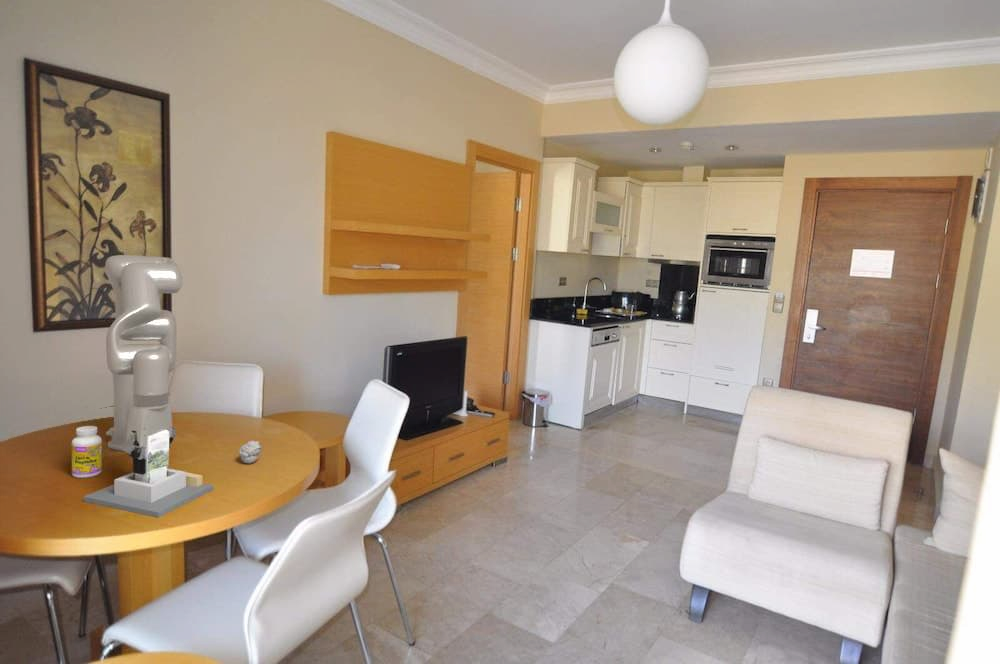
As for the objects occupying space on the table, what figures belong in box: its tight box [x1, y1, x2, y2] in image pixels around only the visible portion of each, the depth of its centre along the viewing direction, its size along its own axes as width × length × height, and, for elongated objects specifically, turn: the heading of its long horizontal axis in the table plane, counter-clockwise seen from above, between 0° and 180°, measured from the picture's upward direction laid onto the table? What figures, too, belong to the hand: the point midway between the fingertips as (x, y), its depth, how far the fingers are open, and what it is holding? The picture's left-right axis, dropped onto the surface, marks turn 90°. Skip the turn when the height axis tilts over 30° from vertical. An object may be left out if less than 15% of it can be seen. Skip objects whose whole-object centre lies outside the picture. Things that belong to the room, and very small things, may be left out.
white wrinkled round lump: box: [238, 440, 263, 464], centre depth 175 cm, size 6×7×7 cm
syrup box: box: [132, 430, 170, 484], centre depth 148 cm, size 6×6×14 cm
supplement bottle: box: [71, 425, 103, 479], centre depth 158 cm, size 7×7×13 cm
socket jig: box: [83, 468, 214, 518], centre depth 149 cm, size 22×18×5 cm
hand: (151, 468), depth 148 cm, fingers closed on syrup box, 6 cm apart
